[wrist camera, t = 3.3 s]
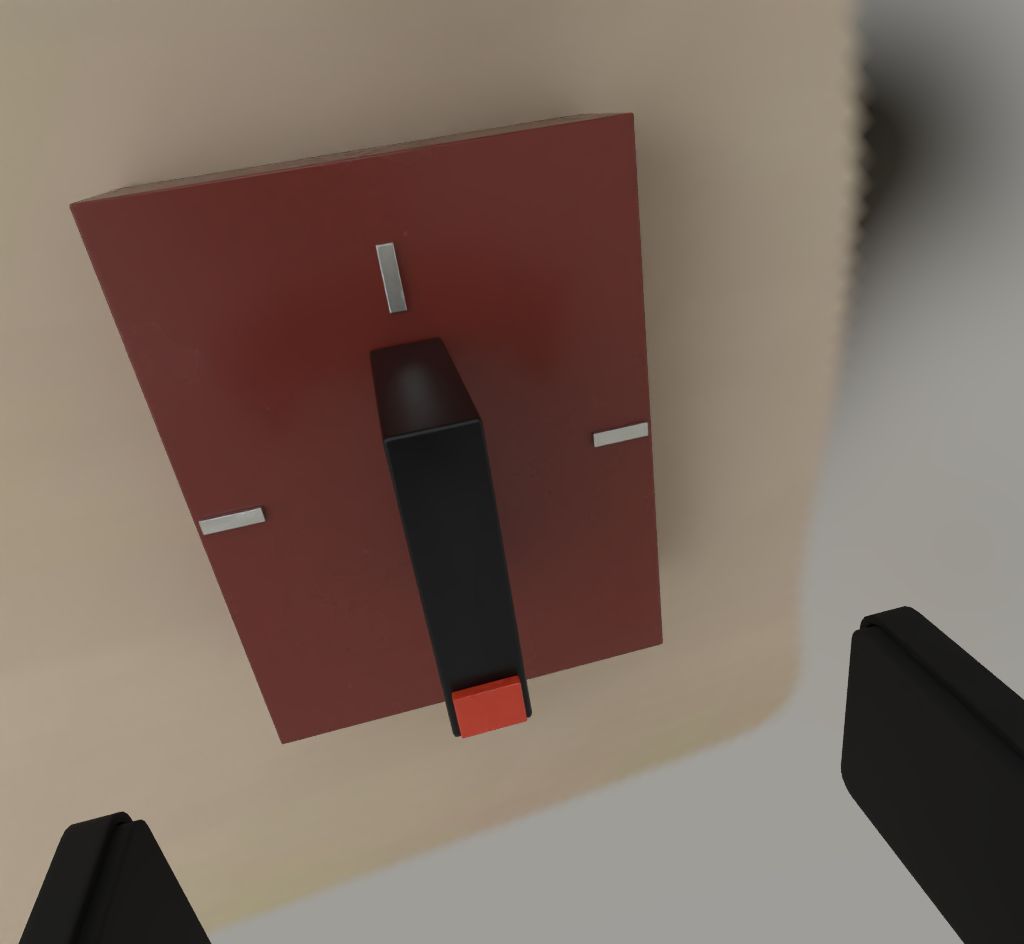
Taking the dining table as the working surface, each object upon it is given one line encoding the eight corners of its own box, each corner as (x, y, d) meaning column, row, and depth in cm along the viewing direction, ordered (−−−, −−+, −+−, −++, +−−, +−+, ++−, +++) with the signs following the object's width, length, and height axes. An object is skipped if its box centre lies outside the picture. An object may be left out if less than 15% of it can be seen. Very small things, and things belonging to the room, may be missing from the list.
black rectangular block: (368, 350, 16) (382, 445, 11) (441, 335, 16) (485, 423, 11) (426, 593, 19) (456, 748, 14) (486, 578, 19) (536, 727, 14)
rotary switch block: (117, 188, 16) (64, 205, 13) (582, 113, 18) (637, 112, 15) (288, 661, 23) (281, 749, 20) (621, 578, 24) (665, 647, 21)
